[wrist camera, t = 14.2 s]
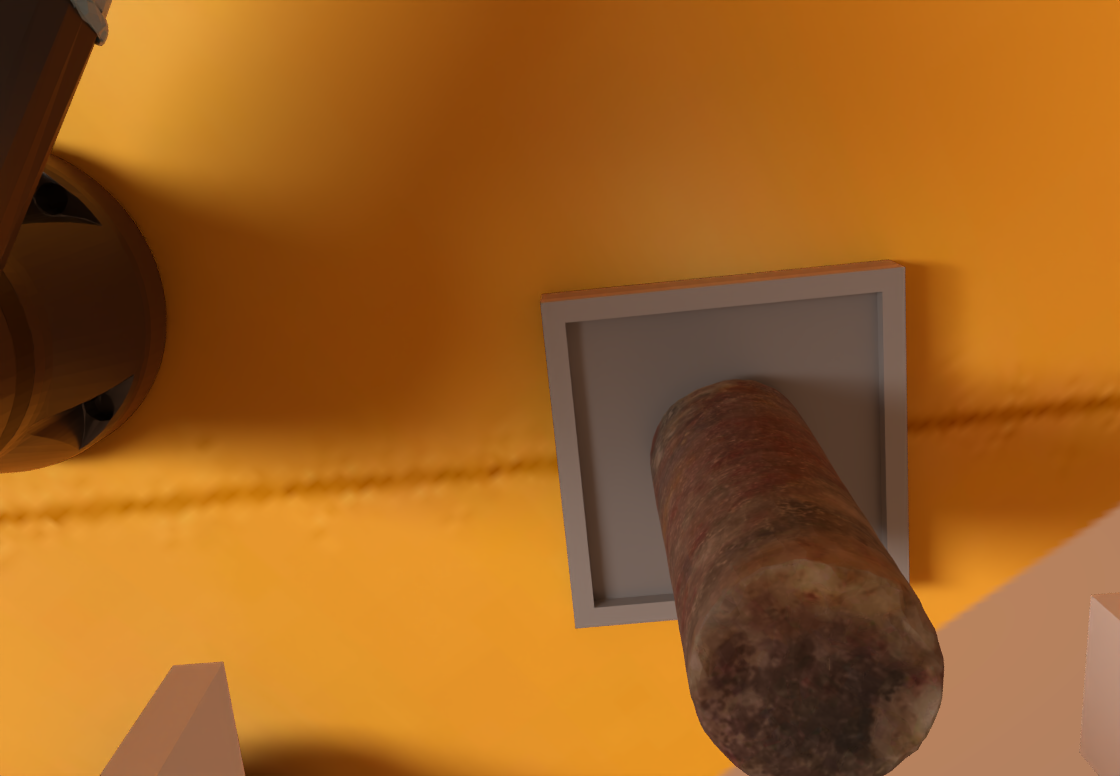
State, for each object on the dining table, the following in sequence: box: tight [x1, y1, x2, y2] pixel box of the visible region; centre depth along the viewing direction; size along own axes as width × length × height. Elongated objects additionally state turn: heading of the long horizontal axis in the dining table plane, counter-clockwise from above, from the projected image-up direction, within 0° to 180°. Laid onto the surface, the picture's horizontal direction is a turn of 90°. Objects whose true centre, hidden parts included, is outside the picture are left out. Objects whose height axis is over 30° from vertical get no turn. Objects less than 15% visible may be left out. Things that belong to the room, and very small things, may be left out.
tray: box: [540, 260, 909, 628], centre depth 47 cm, size 16×16×2 cm
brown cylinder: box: [650, 379, 944, 776], centre depth 37 cm, size 8×7×20 cm
